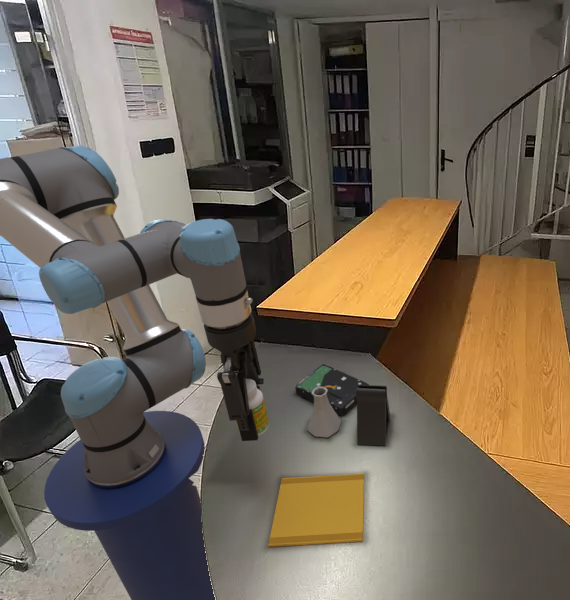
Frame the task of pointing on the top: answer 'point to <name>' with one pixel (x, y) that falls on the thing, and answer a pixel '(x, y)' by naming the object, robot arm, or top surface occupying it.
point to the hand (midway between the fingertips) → (254, 426)
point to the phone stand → (372, 415)
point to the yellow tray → (319, 510)
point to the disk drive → (331, 387)
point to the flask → (323, 415)
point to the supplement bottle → (257, 407)
